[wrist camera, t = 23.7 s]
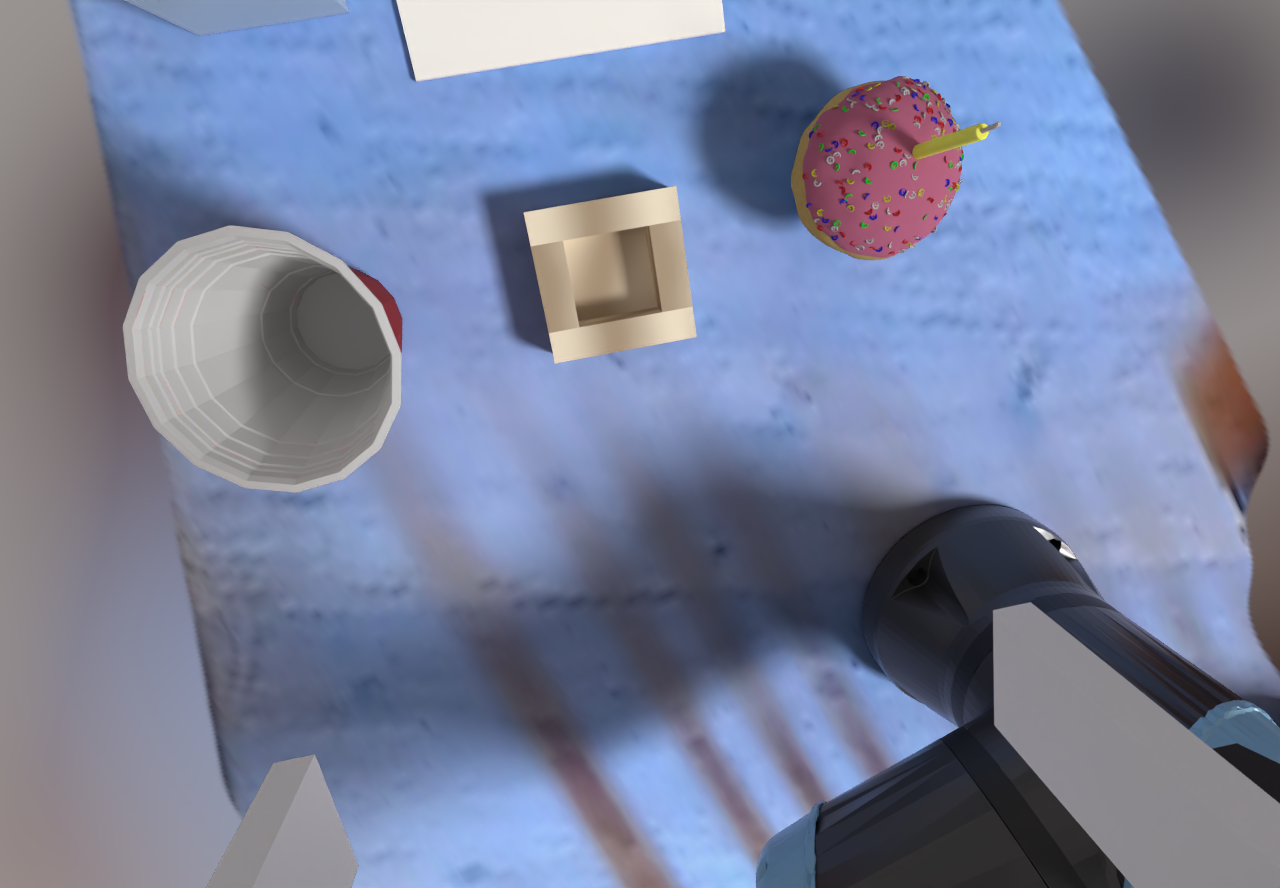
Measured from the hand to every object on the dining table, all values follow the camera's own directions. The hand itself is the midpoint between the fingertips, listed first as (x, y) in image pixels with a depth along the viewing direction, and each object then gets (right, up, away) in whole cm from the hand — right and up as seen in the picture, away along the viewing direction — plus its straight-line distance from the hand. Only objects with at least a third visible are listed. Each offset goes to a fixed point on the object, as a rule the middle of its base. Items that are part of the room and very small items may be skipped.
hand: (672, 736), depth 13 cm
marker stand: (-2, +15, +26) cm, 30 cm away
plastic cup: (-17, +13, +25) cm, 33 cm away
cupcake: (+11, +21, +26) cm, 35 cm away
